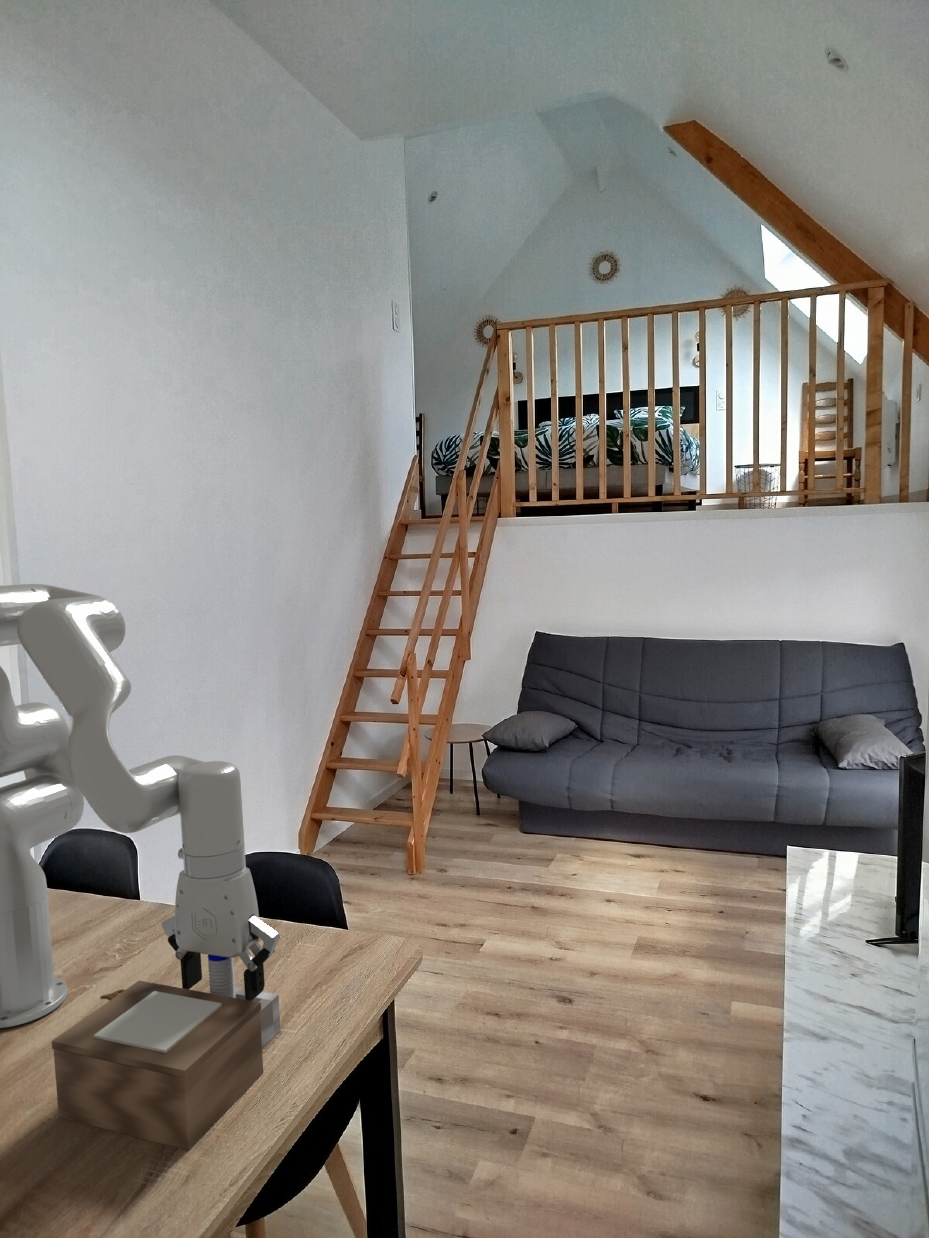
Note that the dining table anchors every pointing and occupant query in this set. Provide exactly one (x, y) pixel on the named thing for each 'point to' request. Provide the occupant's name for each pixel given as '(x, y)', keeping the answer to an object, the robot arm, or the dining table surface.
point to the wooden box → (164, 1068)
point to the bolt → (221, 975)
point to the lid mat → (158, 1021)
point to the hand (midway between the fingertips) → (223, 990)
